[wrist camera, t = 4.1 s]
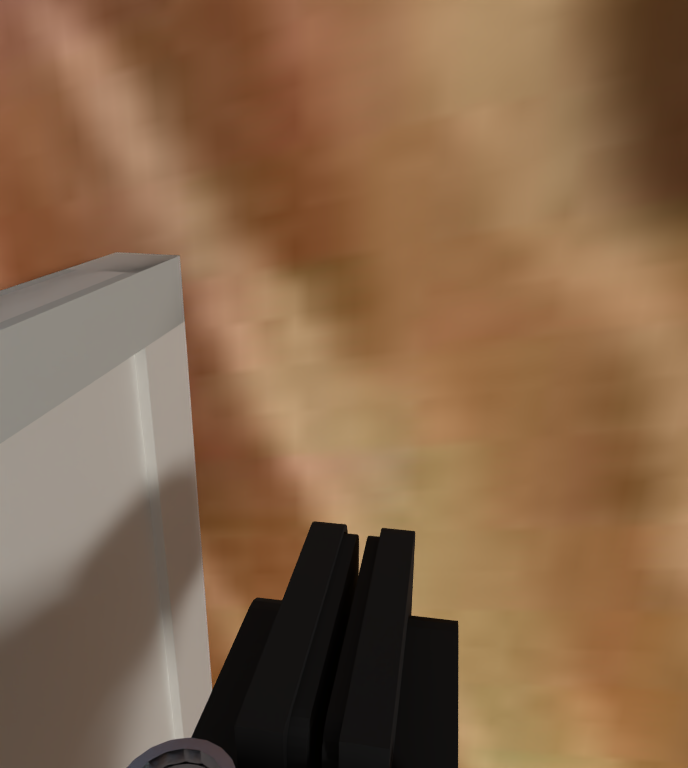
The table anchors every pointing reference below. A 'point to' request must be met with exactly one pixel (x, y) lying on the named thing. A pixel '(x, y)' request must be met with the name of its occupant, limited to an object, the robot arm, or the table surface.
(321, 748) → the robot arm
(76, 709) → the panel
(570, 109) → the table surface
